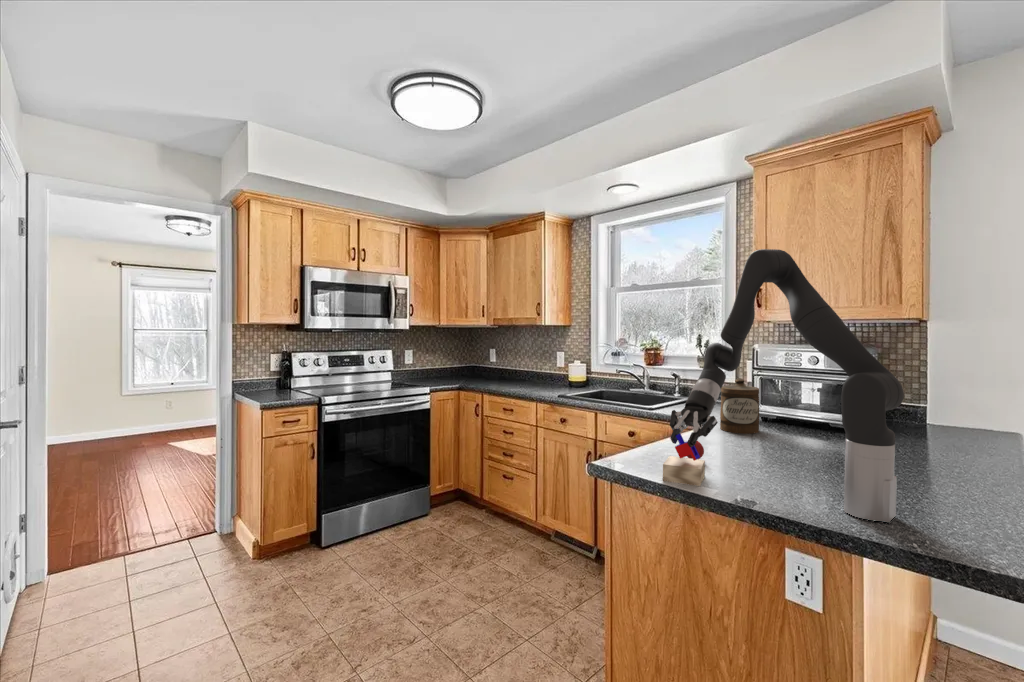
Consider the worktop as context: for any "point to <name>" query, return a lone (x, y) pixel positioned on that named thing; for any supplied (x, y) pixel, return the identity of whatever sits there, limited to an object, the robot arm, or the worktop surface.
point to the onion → (698, 450)
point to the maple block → (684, 470)
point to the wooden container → (739, 408)
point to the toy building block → (685, 449)
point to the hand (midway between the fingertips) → (681, 443)
